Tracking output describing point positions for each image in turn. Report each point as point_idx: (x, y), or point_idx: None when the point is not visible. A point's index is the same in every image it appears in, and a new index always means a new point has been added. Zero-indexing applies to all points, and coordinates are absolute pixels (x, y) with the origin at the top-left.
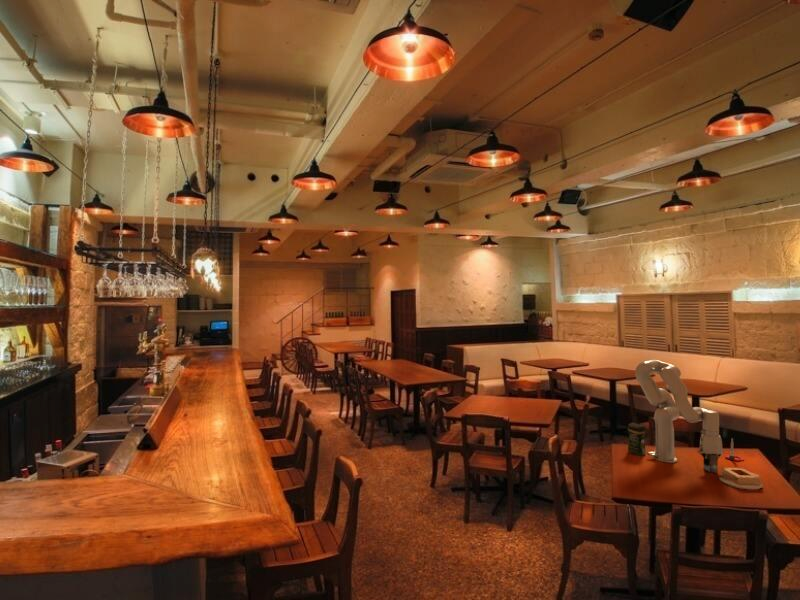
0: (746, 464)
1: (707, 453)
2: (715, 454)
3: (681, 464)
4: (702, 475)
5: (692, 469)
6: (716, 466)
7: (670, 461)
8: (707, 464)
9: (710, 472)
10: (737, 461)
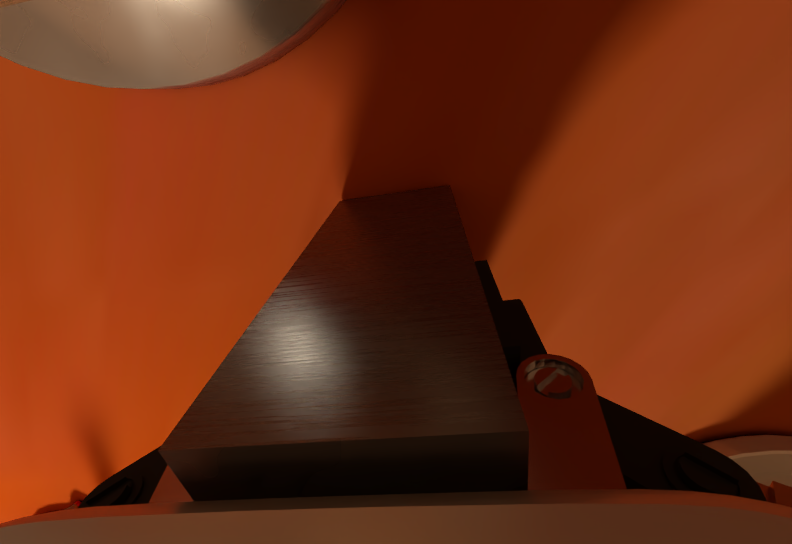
0: (11, 463)
1: (738, 512)
2: (243, 487)
3: (645, 411)
4: (655, 26)
5: (627, 282)
6: (334, 234)
7: (771, 448)
8: (488, 271)
9: (443, 186)
10: (77, 502)
